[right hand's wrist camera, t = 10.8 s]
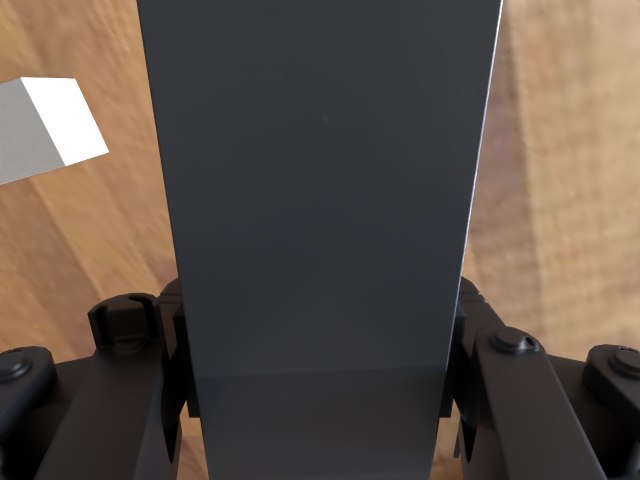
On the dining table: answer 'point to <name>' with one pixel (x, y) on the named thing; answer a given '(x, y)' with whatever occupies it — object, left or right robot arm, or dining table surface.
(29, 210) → the dining table surface
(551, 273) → the dining table surface
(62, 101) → the pale grey block
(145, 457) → the right robot arm
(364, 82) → the bar
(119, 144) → the dining table surface
